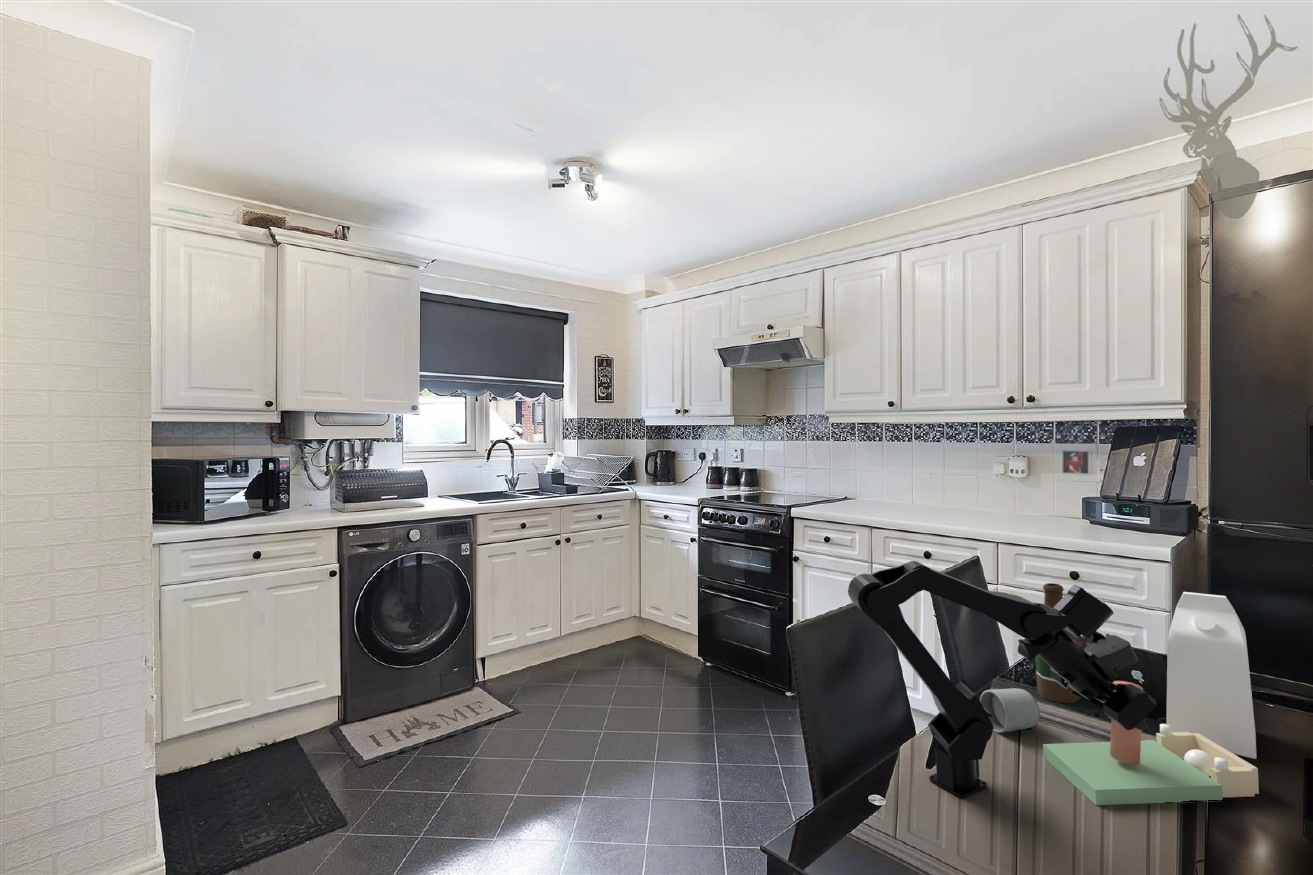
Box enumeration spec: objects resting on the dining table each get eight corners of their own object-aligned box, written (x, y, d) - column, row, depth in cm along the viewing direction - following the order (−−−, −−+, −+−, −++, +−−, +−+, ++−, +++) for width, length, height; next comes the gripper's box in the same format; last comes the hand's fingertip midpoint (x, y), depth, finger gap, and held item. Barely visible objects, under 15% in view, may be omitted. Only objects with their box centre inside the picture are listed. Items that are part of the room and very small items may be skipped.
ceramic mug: (1044, 733, 120) (1042, 692, 120) (1007, 740, 118) (1005, 699, 118) (1003, 710, 130) (1000, 673, 130) (968, 716, 128) (966, 678, 128)
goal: (1218, 798, 97) (1217, 763, 97) (1156, 755, 110) (1154, 723, 110) (1263, 796, 97) (1262, 761, 97) (1195, 753, 110) (1194, 722, 110)
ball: (1227, 769, 100) (1205, 782, 101) (1215, 767, 104) (1194, 780, 104) (1205, 745, 102) (1184, 758, 103) (1194, 743, 106) (1173, 756, 106)
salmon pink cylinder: (1131, 766, 101) (1134, 692, 101) (1104, 754, 105) (1107, 682, 105) (1145, 761, 103) (1148, 688, 103) (1118, 749, 107) (1121, 679, 106)
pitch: (1096, 805, 97) (1095, 789, 97) (1043, 757, 111) (1043, 744, 111) (1222, 800, 97) (1221, 785, 97) (1154, 753, 111) (1153, 739, 111)
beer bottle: (1079, 692, 136) (1074, 581, 135) (1081, 706, 129) (1075, 590, 129) (1037, 686, 140) (1032, 578, 139) (1036, 699, 133) (1031, 587, 133)
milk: (1255, 732, 116) (1248, 591, 115) (1256, 758, 107) (1249, 607, 107) (1171, 714, 124) (1164, 583, 123) (1166, 738, 115) (1159, 597, 115)
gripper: (1141, 641, 94) (1219, 712, 94) (1065, 605, 113) (1130, 665, 113) (1089, 694, 95) (1166, 765, 95) (1021, 650, 113) (1086, 709, 113)
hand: (1135, 722), depth 104 cm, fingers closed on salmon pink cylinder, 4 cm apart
